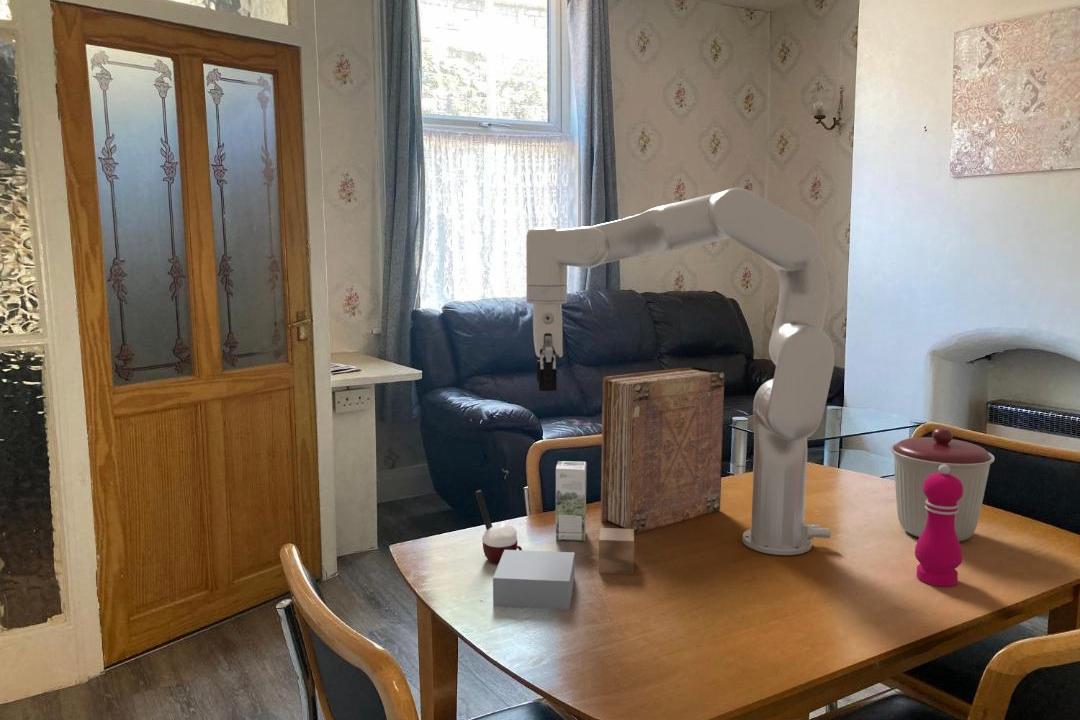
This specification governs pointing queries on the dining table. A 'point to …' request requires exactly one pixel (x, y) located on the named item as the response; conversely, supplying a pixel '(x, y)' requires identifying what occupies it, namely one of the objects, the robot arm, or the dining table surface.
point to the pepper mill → (940, 530)
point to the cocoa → (496, 535)
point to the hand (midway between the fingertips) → (546, 386)
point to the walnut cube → (616, 551)
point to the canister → (925, 458)
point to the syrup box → (570, 501)
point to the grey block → (534, 579)
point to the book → (661, 446)
